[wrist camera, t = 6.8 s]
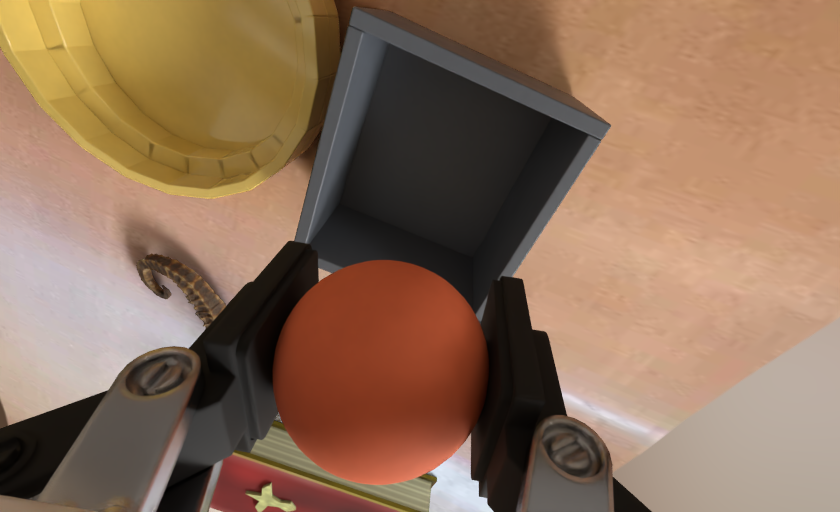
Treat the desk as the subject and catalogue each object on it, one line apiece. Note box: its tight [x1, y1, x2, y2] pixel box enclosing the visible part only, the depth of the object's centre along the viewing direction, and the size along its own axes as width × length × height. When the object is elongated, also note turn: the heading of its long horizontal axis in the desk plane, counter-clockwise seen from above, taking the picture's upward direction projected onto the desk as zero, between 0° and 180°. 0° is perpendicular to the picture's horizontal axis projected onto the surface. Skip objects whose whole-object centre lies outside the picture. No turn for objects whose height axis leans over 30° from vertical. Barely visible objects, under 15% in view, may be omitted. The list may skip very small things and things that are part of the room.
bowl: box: [0, 0, 340, 199], centre depth 19 cm, size 15×15×4 cm
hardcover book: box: [210, 420, 437, 512], centre depth 39 cm, size 12×21×4 cm, turn 68°
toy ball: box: [272, 260, 489, 485], centre depth 9 cm, size 5×5×5 cm
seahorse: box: [137, 254, 226, 330], centre depth 31 cm, size 6×15×2 cm, turn 22°
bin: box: [294, 7, 611, 325], centre depth 20 cm, size 11×10×6 cm
